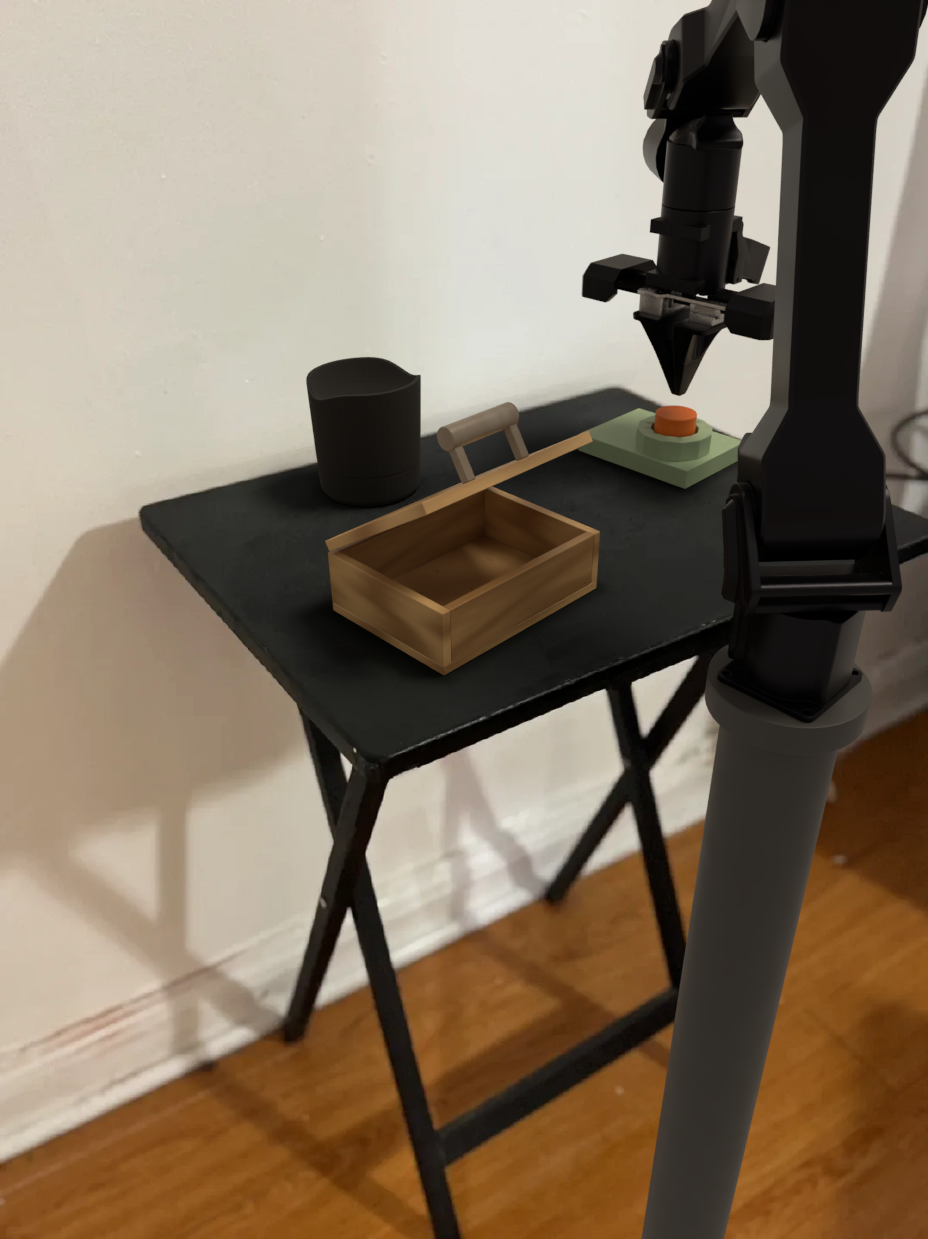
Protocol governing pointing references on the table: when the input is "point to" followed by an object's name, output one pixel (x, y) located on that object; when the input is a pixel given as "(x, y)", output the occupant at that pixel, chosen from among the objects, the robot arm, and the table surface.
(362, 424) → the pen holder
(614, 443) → the control block
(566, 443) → the case lid
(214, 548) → the table surface
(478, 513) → the wooden case
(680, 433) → the button
